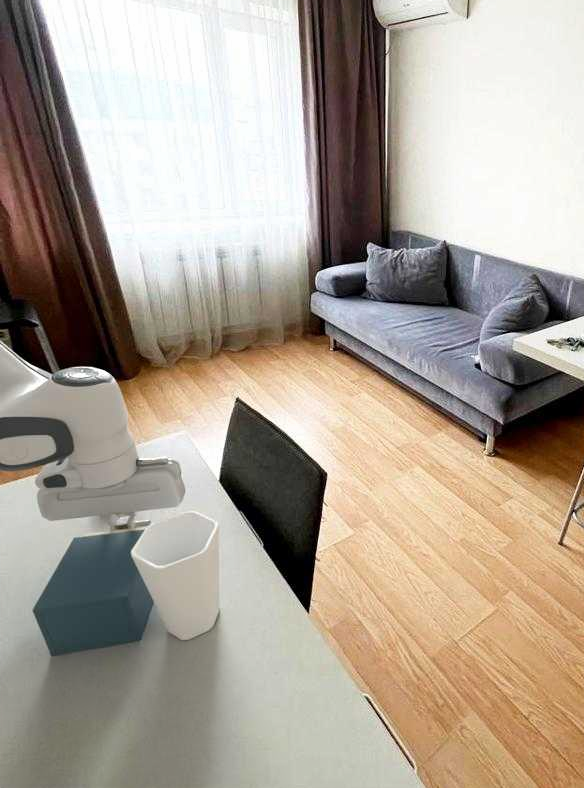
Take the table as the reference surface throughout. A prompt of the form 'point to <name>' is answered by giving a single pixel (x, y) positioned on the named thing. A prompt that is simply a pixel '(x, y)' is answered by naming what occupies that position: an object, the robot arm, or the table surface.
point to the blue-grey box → (94, 596)
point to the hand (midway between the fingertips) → (124, 528)
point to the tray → (138, 526)
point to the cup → (182, 571)
